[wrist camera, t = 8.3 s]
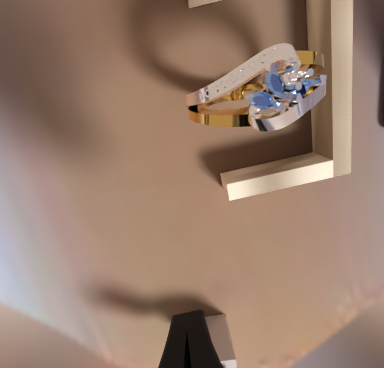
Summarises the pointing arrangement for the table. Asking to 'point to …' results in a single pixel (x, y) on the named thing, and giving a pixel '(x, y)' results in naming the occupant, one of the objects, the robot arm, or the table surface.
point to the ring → (264, 90)
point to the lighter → (221, 340)
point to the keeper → (312, 109)
